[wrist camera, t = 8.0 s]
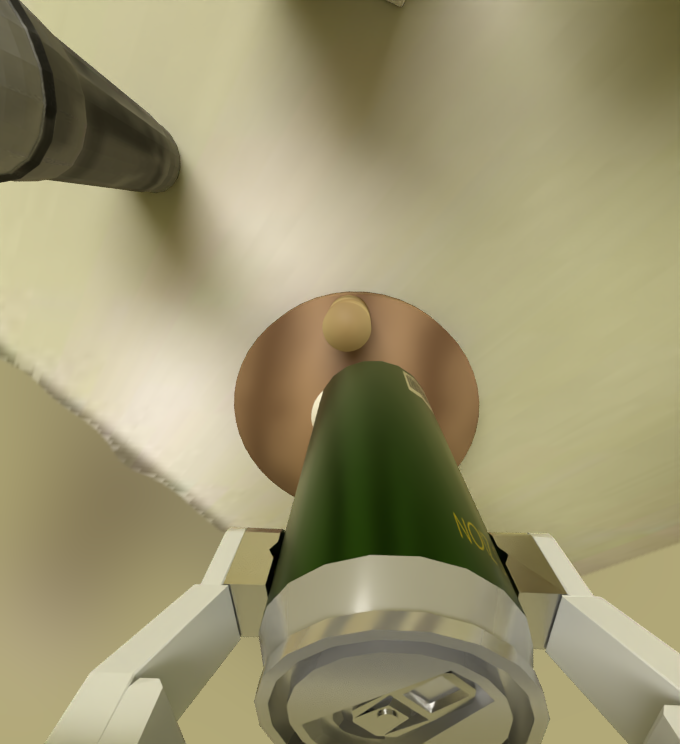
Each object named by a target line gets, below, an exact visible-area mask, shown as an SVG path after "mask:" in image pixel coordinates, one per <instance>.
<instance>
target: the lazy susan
mask: <svg viewBox="0 0 680 744" xmlns="http://www.w3.org/2000/svg"><path fill="white" fill-rule="evenodd" d="M363 361H384V362H387V363H390V364H394V365H397V366H399V367H401V368H402V369H404V370H405V371H407V372H408V373H410V374H411V375H413V377H414V378H415V379H416V381H417V382H418V383H419V385H420V386H421V387H422V389H423V391H424V393H425V396H426V398H427V400H428V402H429V404H430V406H431V409H432V411H433V413H434V415H435V417H436V420H437V422H438V424H439V426H440V428H441V431H442V433H443V435H444V437H445V439H446V442H447V444H448V446H449V448H450V450H451V453H452V455H453V457H454V459H455V461H456V464H457V466H459V464H460V463H461V462H462V460H463V459H464V457H465V455H466V454H467V452H468V450H469V448H470V446H471V444H472V441H473V438H474V435H475V432H476V428H477V423H478V417H479V396H478V388H477V384H476V380H475V376H474V373H473V370H472V368H471V366H470V364H469V361H468V359H467V357H466V356H465V354H464V353H463V351H462V349H461V348H460V346H459V345H458V343H457V342H456V341H455V340H454V339H453V338H452V337H451V335H450V334H449V333H448V332H447V331H446V330H445V329H444V328H443V327H442V326H441V325H439V324H438V323H437V322H436V321H435V320H434V319H432V318H431V317H430V316H429V315H427V314H426V313H424V312H423V311H421V310H420V309H418V308H416V307H415V306H413V305H411V304H408V303H406V302H404V301H402V300H400V299H396V298H393V297H390V296H386V295H383V294H376V293H370V292H341V293H333V294H329V295H325V296H321V297H317V298H314V299H312V300H309V301H307V302H304V303H302V304H300V305H298V306H297V307H295V308H293V309H291V310H290V311H288V312H287V313H285V314H284V315H283V316H281V317H280V318H279V319H278V320H276V321H275V322H274V323H273V324H271V325H270V326H269V327H268V328H267V329H266V330H265V331H264V332H263V333H262V334H261V335H260V336H259V337H258V338H257V340H256V341H255V343H254V344H253V345H252V347H251V348H250V350H249V351H248V353H247V355H246V357H245V359H244V361H243V363H242V365H241V368H240V371H239V374H238V377H237V381H236V387H235V395H234V409H235V417H236V423H237V427H238V430H239V434H240V436H241V439H242V441H243V444H244V446H245V448H246V450H247V451H248V453H249V455H250V457H251V458H252V460H253V461H254V462H255V464H256V465H257V466H258V468H259V469H260V470H261V471H262V472H263V473H264V474H265V475H266V476H267V477H268V478H269V479H270V480H271V481H272V482H273V483H275V484H276V485H277V486H278V487H280V488H281V489H283V490H284V491H286V492H287V493H289V494H290V495H292V496H294V497H295V494H296V490H297V486H298V482H299V479H300V475H301V471H302V467H303V463H304V460H305V456H306V452H307V448H308V445H309V441H310V437H311V433H312V430H313V426H314V422H315V418H316V414H317V411H318V407H319V403H320V400H321V397H322V393H323V390H324V388H325V387H326V385H327V384H328V383H329V381H330V380H331V378H332V377H333V376H334V375H336V374H337V373H338V372H340V371H341V370H343V369H344V368H345V367H347V366H350V365H353V364H356V363H359V362H363Z"/></svg>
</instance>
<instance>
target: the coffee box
mask: <svg viewBox="0 0 680 744" xmlns="http://www.w3.org/2000/svg"><path fill="white" fill-rule="evenodd" d="M387 1H389V2H391V3H393V4H395V5H397V6H400V7H401V6H403V4H404V2H405V0H387Z"/></svg>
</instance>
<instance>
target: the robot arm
mask: <svg viewBox="0 0 680 744" xmlns="http://www.w3.org/2000/svg"><path fill="white" fill-rule="evenodd" d="M488 534H489V536H490V538H491V541H492V543H493V545H494V547H495V549H496V552H497V554H498V556H499V558H500V560H501V563H502V565H503V567H504V569H505V571H506V574H507V576H508V578H509V580H510V582H511V585H512V587H513V589H514V591H515V593H516V596H517V598H518V600H519V602H520V604H521V607H522V609H523V611H524V613H525V615H526V618H527V622H528V626H529V630H530V635H531V639H532V643H533V649H546V651H545V652H546V653H547V654H548V655H549V656H550V657H551V658H552V660H553V661H554V662H555V663H556V664H557V665H558V666H559V667H560V668H561V670H562V671H563V672H564V673H565V674H566V675H567V676H568V677H569V678H570V679H571V681H572V682H573V683H574V684H575V685H576V686H577V687H578V688H579V689H580V690H581V692H582V693H583V694H584V695H585V696H586V697H587V698H588V699H589V701H590V702H591V703H592V704H593V705H594V706H595V707H596V708H597V709H598V710H599V711H600V713H601V714H602V715H603V716H604V717H605V718H606V719H607V720H608V722H609V723H610V724H611V725H612V726H613V727H614V728H615V729H616V730H617V732H618V733H619V734H620V735H621V736H622V737H623V738H624V739H625V740H626V741H627V743H628V744H680V653H678V652H677V651H675V650H674V649H673V648H671V647H670V646H668V645H667V644H666V643H665V642H663V641H662V640H660V639H659V638H658V637H656V636H655V635H653V634H652V633H651V632H649V631H648V630H646V629H645V628H644V627H642V626H641V625H640V624H638V623H637V622H635V621H634V620H633V619H631V618H630V617H629V616H627V615H626V614H625V613H623V612H622V611H620V610H619V609H617V608H616V607H615V606H613V605H612V604H610V603H609V602H608V601H607V600H605V599H604V598H602V597H599V596H594V595H593V594H592V592H591V591H590V589H589V588H588V587H587V585H586V584H585V582H584V581H583V579H582V578H581V576H580V575H579V574H578V572H577V571H576V569H575V568H574V566H573V565H572V563H571V562H570V561H569V559H568V558H567V556H566V555H565V553H564V552H563V551H562V549H561V548H560V546H559V545H558V543H557V542H556V540H555V539H554V538H553V536H551V535H550V534H549V533H503V532H488ZM284 535H285V530H283V529H264V528H235V527H230V528H229V529H228V530H227V531H226V533H225V535H224V537H223V539H222V541H221V543H220V545H219V547H218V549H217V551H216V553H215V555H214V557H213V559H212V561H211V563H210V566H209V568H208V570H207V572H206V574H205V576H204V578H203V580H202V582H201V584H195V585H193V586H192V587H191V588H190V589H189V590H187V591H186V592H185V593H184V594H183V595H182V596H180V597H179V598H178V599H177V600H176V601H174V602H173V603H172V604H171V605H170V606H169V607H167V608H166V609H165V610H164V611H163V612H161V613H160V614H159V615H158V616H157V617H155V618H154V619H153V620H152V621H151V622H150V623H148V624H147V625H146V626H145V627H144V628H142V629H141V630H140V631H139V632H138V633H136V634H135V635H134V636H133V637H132V638H131V639H129V640H128V641H127V642H126V643H125V644H123V645H122V646H121V647H120V648H119V649H118V650H116V651H115V652H114V653H113V654H112V655H110V656H109V657H108V658H107V659H106V660H104V661H103V662H102V663H101V664H100V665H99V666H97V667H96V668H95V669H94V670H93V671H92V672H91V673H90V674H89V675H88V677H87V678H86V680H85V682H84V683H83V685H82V686H81V688H80V689H79V691H78V693H77V694H76V696H75V697H74V699H73V700H72V702H71V703H70V705H69V706H68V708H67V709H66V711H65V712H64V714H63V716H62V717H61V719H60V720H59V722H58V723H57V725H56V726H55V728H54V730H53V731H52V733H51V734H50V736H49V737H48V739H47V740H46V742H45V743H44V744H186V743H185V740H184V738H183V735H182V733H181V730H180V728H179V725H178V723H177V721H178V719H179V718H180V717H181V716H182V714H183V713H184V712H185V710H186V709H187V708H188V707H189V705H190V704H191V703H192V701H193V700H194V699H195V697H196V696H197V695H198V694H199V692H200V691H201V690H202V688H203V687H204V686H205V685H206V683H207V682H208V681H209V679H210V678H211V677H212V676H213V674H214V673H215V672H216V670H217V669H218V668H219V667H220V665H221V664H222V663H223V661H224V660H225V659H226V657H227V656H228V655H229V653H230V652H231V651H232V650H233V648H234V647H235V646H236V644H237V643H238V642H239V641H240V637H259V629H260V625H261V622H262V618H263V614H264V610H265V607H266V603H267V599H268V595H269V592H270V588H271V584H272V580H273V577H274V573H275V569H276V565H277V561H278V558H279V554H280V550H281V546H282V543H283V539H284Z"/></svg>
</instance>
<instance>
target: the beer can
mask: <svg viewBox="0 0 680 744" xmlns="http://www.w3.org/2000/svg"><path fill="white" fill-rule="evenodd" d="M259 640H260V647H261V654H262V661H263V667H264V668H263V671H262V674H261V677H260V680H259V684H258V687H257V692H256V696H255V700H254V703H255V707H256V712H257V716H258V720H259V725H260V727H262V729H263V730H264V732H265V733H266V734H267V735H268V737H269V738H270V739H271V741H272V742H273V743H274V744H541V742H542V740H543V737H544V734H545V731H546V729H547V726H548V723H549V720H550V717H549V713H548V709H547V705H546V700H545V697H544V692H543V690H542V687H541V685H540V683H539V680H538V678H537V675H536V673H535V671H534V670H533V643H532V639H531V635H530V630H529V626H528V622H527V618H526V615H525V613H524V611H523V609H522V607H521V604H520V602H519V600H518V598H517V596H516V593H515V591H514V589H513V587H512V585H511V582H510V580H509V578H508V576H507V574H506V571H505V569H504V567H503V565H502V563H501V560H500V558H499V556H498V554H497V552H496V549H495V547H494V545H493V543H492V541H491V538H490V536H489V534H488V532H487V530H486V527H485V525H484V523H483V521H482V519H481V516H480V514H479V512H478V510H477V508H476V505H475V503H474V501H473V499H472V497H471V494H470V492H469V490H468V488H467V486H466V483H465V481H464V479H463V477H462V475H461V472H460V470H459V468H458V466H457V464H456V461H455V459H454V457H453V455H452V453H451V450H450V448H449V446H448V444H447V442H446V439H445V437H444V435H443V433H442V431H441V428H440V426H439V424H438V422H437V420H436V417H435V415H434V413H433V411H432V409H431V406H430V404H429V402H428V400H427V398H426V396H425V393H424V391H423V389H422V387H421V386H420V385H419V383H418V382H417V381H416V379H415V378H414V377H413V375H411V374H410V373H408V372H407V371H405V370H404V369H402V368H401V367H399V366H397V365H394V364H390V363H387V362H384V361H363V362H359V363H356V364H353V365H350V366H347V367H345V368H344V369H343V370H341V371H340V372H338V373H337V374H336V375H334V376H333V377H332V378H331V380H330V381H329V383H328V384H327V385H326V387H325V388H324V390H323V393H322V397H321V400H320V403H319V407H318V411H317V414H316V418H315V422H314V426H313V430H312V433H311V437H310V441H309V445H308V448H307V452H306V456H305V460H304V463H303V467H302V471H301V475H300V479H299V482H298V486H297V490H296V494H295V497H294V501H293V505H292V509H291V512H290V516H289V520H288V524H287V527H286V531H285V535H284V539H283V543H282V546H281V550H280V554H279V558H278V561H277V565H276V569H275V573H274V577H273V580H272V584H271V588H270V592H269V595H268V599H267V603H266V607H265V610H264V614H263V618H262V622H261V625H260V629H259Z"/></svg>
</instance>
